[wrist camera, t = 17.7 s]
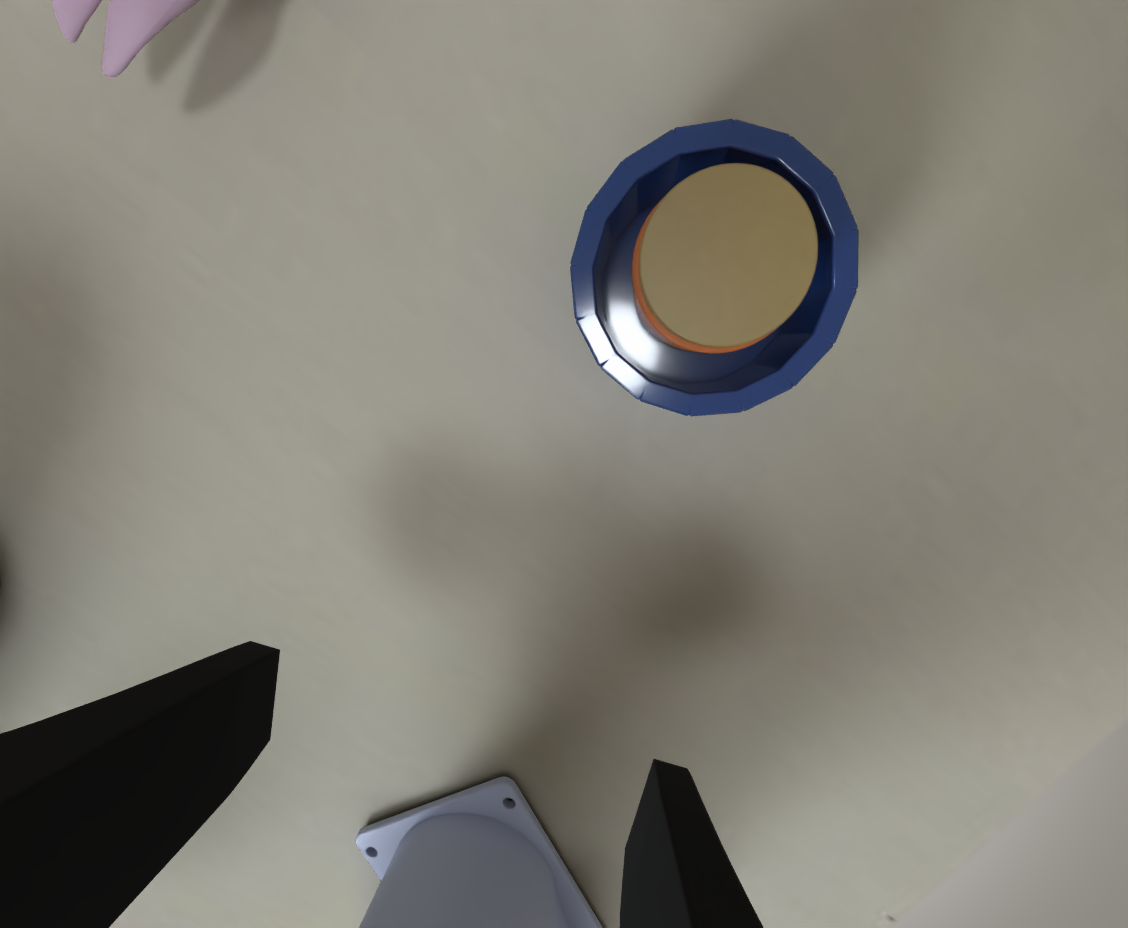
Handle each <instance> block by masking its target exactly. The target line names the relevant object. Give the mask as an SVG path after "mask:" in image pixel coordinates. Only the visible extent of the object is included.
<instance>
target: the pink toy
mask: <svg viewBox="0 0 1128 928" xmlns="http://www.w3.org/2000/svg"><path fill="white" fill-rule="evenodd" d="M198 1H200V0H110V4H109V8H108V14H107V22H106V32H105V43H104V52H103V59H102V71H103V73H104V74H105V75H106V76H108V77H116V76H118V75H119V74H121V73H122V72H123V71H124V70H125V69H126V67H127V66H128V65H129V63H130V62H131V61H132V59H133V58H134V57H135V56H136V54H137V53H138V52H139V51H140V50H141V49H142V48H143V47H144V46H145V45H146V44H147V43H148V42H149V41H150V40H151V39H152V38H153V37H154V36H155V35H156V34H158V33H159V32H160V31H161V30H162V29H163V28H164V27H165V26H166V25H167V24H168V23H170V22H171V21H172V20H174V19H175V18H176V17H178V16H179V15H181V14H182V13H184V12H185V11H187V10H188V9H189V8H191V7H192V6H193V5H195V4H196V3H197V2H198ZM51 2H52V5H53V9H54V12H55V15H56V18H57V21H58V24H59V27H60V29H61V32H62V34H63V35H64V37H65V38H66V39H67V40H68V41H70V42H75V41H77V39H78V38H79V36H80V34H81V32H82V30H83V28H84V26H85V24H86V23H87V21H88V20H89V18H90V17H91V16H92V14H93V13H94V12H95V10H96V9H97V7H98V6H99V4H100V2H101V0H51Z"/></svg>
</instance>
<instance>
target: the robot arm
mask: <svg viewBox="0 0 1128 928" xmlns="http://www.w3.org/2000/svg"><path fill="white" fill-rule="evenodd" d="M279 654H280V650H279V649H276V648H272V647H269V646H266V645H262V644H259V643H255V642H252V641H249V642H246V643H243V644H241V645H238V646H235V647H232V648H230V649H227V650H224V651H222V652H219V653H217V654H214V655H212V656H209V657H207V658H204V659H202V660H199V661H197V662H194V663H192V664H189V665H187V666H184V667H182V668H179V669H177V670H174V671H172V672H169V673H167V674H164V675H162V676H159V677H156V678H154V679H151V680H149V681H146V682H144V683H141V684H139V685H136V686H134V687H131V688H128V689H126V690H123V691H121V692H118V693H116V694H113V695H110V696H108V697H105V698H102V699H99V700H96V701H94V702H91V703H88V704H85V705H83V706H80V707H77V708H74V709H71V710H69V711H66V712H63V713H60V714H58V715H55V716H52V717H49V718H46V719H44V720H41V721H38V722H35V723H32V724H29V725H26V726H23V727H20V728H17V729H14V730H11V731H8V732H5V733H2V734H0V928H109V927H110V926H111V925H112V923H113V922H114V921H115V920H116V919H117V918H118V917H119V916H120V915H121V913H122V912H123V911H124V910H125V909H126V908H127V907H128V906H129V905H130V904H131V903H132V901H133V900H134V899H135V898H136V897H137V896H138V895H139V894H140V893H141V892H142V891H143V889H144V888H145V887H146V886H147V885H148V884H149V883H150V882H151V881H152V880H153V879H154V877H155V876H156V875H157V874H158V873H159V872H160V871H161V870H162V869H163V868H164V867H165V865H166V864H167V863H168V862H169V861H170V860H171V859H172V858H173V857H174V856H175V855H176V853H177V852H178V851H179V850H180V849H181V848H182V847H183V846H184V845H185V844H186V843H187V841H188V840H189V839H190V838H191V837H192V836H193V835H194V834H195V833H196V832H197V830H198V829H199V828H200V827H201V826H202V825H203V824H204V823H205V822H206V820H207V819H208V818H209V817H210V816H211V815H212V814H213V813H214V812H215V811H216V809H217V808H218V807H219V806H220V805H221V804H222V803H223V802H224V800H225V799H226V798H227V797H228V796H229V795H230V794H231V792H232V791H233V790H234V788H235V787H236V786H237V785H238V783H239V782H240V781H241V779H242V778H243V777H244V775H245V774H246V773H247V771H248V770H249V769H250V767H251V766H252V764H253V763H254V762H255V760H256V759H257V757H258V756H259V755H260V753H261V752H262V750H263V749H264V748H265V746H266V745H267V743H268V742H269V741H270V737H271V728H272V719H273V709H274V700H275V691H276V682H277V673H278V663H279ZM507 798H511V799H513V800H514V801H510V800H508V799H507ZM356 844H357V846H358V848H359V849H360V851H361V852H362V854H363V855H364V857H365V858H366V860H367V861H368V863H369V864H370V866H371V867H372V869H373V870H374V872H375V873H376V875H377V876H378V878H379V879H380V881H381V883H380V885H379V887H378V889H377V891H376V893H375V895H374V897H373V900H372V902H371V904H370V906H369V908H368V910H367V912H366V914H365V916H364V918H363V921H362V923H361V925H360V927H359V928H603V927H602V926H601V924H600V922H599V921H598V919H597V917H596V916H595V914H594V912H593V911H592V909H591V908H590V906H589V904H588V903H587V901H586V899H585V898H584V896H583V894H582V893H581V891H580V889H579V888H578V886H577V884H576V883H575V881H574V879H573V878H572V876H571V874H570V873H569V871H568V869H567V868H566V866H565V864H564V863H563V861H562V859H561V858H560V856H559V854H558V853H557V851H556V849H555V848H554V846H553V844H552V843H551V841H550V839H549V838H548V836H547V834H546V833H545V831H544V830H543V828H542V826H541V825H540V823H539V821H538V820H537V818H536V816H535V815H534V813H533V811H532V810H531V808H530V806H529V805H528V803H527V801H526V800H525V798H524V796H523V795H522V793H521V791H520V790H519V788H518V786H517V785H516V783H515V782H514V781H513V780H512V779H510V778H509V777H498V778H496V779H493V780H490V781H488V782H485V783H482V784H479V785H477V786H474V787H471V788H469V789H466V790H463V791H460V792H458V793H455V794H452V795H449V796H447V797H444V798H441V799H439V800H436V801H433V802H430V803H428V804H425V805H422V806H420V807H417V808H414V809H411V810H409V811H406V812H403V813H400V814H398V815H395V816H392V817H390V818H387V819H384V820H381V821H379V822H376V823H373V824H370V825H368V826H365V827H363V828H361V829H360V831H359V833H358V835H357V836H356ZM620 928H764V927H763V926H762V924H761V922H760V920H759V918H758V916H757V914H756V912H755V910H754V908H753V907H752V905H751V903H750V901H749V899H748V897H747V895H746V893H745V891H744V889H743V887H742V885H741V883H740V881H739V879H738V877H737V875H736V873H735V871H734V869H733V867H732V865H731V863H730V860H729V858H728V856H727V854H726V852H725V850H724V848H723V846H722V844H721V841H720V839H719V837H718V835H717V833H716V830H715V828H714V826H713V824H712V822H711V819H710V817H709V815H708V813H707V810H706V808H705V806H704V804H703V801H702V799H701V797H700V794H699V792H698V790H697V787H696V785H695V783H694V781H693V778H692V776H691V774H690V772H689V771H688V769H687V768H684V767H680V766H677V765H673V764H670V763H666V762H663V761H660V760H656V759H654V760H653V763H652V766H651V769H650V772H649V775H648V778H647V781H646V785H645V788H644V791H643V794H642V797H641V800H640V803H639V807H638V810H637V813H636V816H635V819H634V822H633V825H632V828H631V832H630V835H629V838H628V841H627V844H626V847H625V857H624V869H623V880H622V893H621V907H620Z"/></svg>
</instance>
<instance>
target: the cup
mask: <svg viewBox="0 0 1128 928" xmlns="http://www.w3.org/2000/svg"><path fill="white" fill-rule="evenodd" d="M729 163H743V164H751V165H756V166H760V167H763V168H765V169H768V170H771V171H772V172H774V173H776V174H778V175H780V176H781V177H783V178H784V179H785V180H787V181H788V182H789V183H790V184H791V185H792V186H793V187H794V188H795V189H796V190H797V191H798V192H799V193H800V195H801V196H802V197H803V199H804V200H805V201H806V203H807V205H808V207H809V209H810V211H811V213H812V216H813V219H814V222H815V226H816V231H817V237H818V258H817V264H816V270H815V274H814V277H813V280H812V283H811V285H810V287H809V289H808V291H807V294H806V296H805V297H804V299H803V300H802V302H801V304H800V305H799V306H798V308H797V309H796V310H795V311H794V313H793V314H792V315H791V316H790V317H789V318H788V319H787V320H786V321H785V322H784V323H783V324H782V325H780V326H779V327H778V328H777V329H776V330H775V331H773V332H772V333H771V334H769V335H768V336H767V337H766V338H764V339H762V340H760V341H759V342H757V343H755V344H753V345H751V346H748V347H746V348H743V349H740V350H737V351H733V352H727V353H713V354H710V353H700V352H693V351H686V350H680V349H676V348H673V347H670V346H668V345H666V344H664V343H662V342H660V341H659V340H658V339H656V338H655V337H654V336H653V335H652V334H651V333H650V332H649V331H648V330H647V329H646V328H645V326H644V325H643V323H642V321H641V320H640V318H639V315H638V313H637V310H636V307H635V302H634V295H633V281H632V261H633V252H634V248H635V244H636V240H637V238H638V235H639V232H640V230H641V228H642V226H643V224H644V222H645V220H646V218H647V217H648V216H649V214H650V213H651V211H652V210H653V208H654V207H655V206H656V205H657V204H658V203H659V202H660V200H661V199H662V198H664V197H665V195H666V194H667V193H668V192H669V191H670V190H671V189H672V188H674V187H675V186H676V185H677V184H678V183H679V182H681V181H682V180H684V179H685V178H687V177H688V176H690V175H692V174H694V173H696V172H698V171H700V170H703V169H706V168H708V167H711V166H716V165H720V164H729ZM833 174H834V173H833V172H832V171H831V170H830V169H829V168H828V167H827V166H825V165H824V164H823V163H822V162H821V161H820V160H819V159H817V158H816V157H815V156H814V155H813V154H812V153H811V152H810V151H808V150H807V149H806V148H805V147H804V146H803V145H802V144H801V143H799V142H798V141H797V140H796V139H795V138H794V137H792V136H790V137H789V135H788V134H786V133H782V132H779V131H775V130H772V129H768V128H765V127H761V126H757V125H754V124H750V123H747V122H743V121H740V120H734V121H733V119H728V120H721V121H715V122H709V123H702V124H696V125H690V126H684V127H677V128H675V129H674V130H670V131H669V132H667V133H665V134H664V135H662V136H661V137H659V138H657V139H656V140H654V141H653V142H651V143H649V144H648V145H646V146H644V147H643V148H641V149H640V150H638V151H636V152H635V153H633V154H632V155H630V156H628V157H627V158H625V159H624V160H623V162H620V164H619V165H618V166H617V168H616V169H615V170H614V172H613V173H612V174H611V176H610V177H609V178H608V180H607V181H606V182H605V184H604V185H603V186H602V188H601V189H600V190H599V192H598V193H597V194H596V196H595V197H594V198H593V200H592V201H591V202H590V204H589V205H588V206H587V210H586V211H585V213H584V217H583V220H582V224H581V227H580V231H579V234H578V238H577V241H576V245H575V248H574V252H573V255H572V259H571V262H570V263H571V267H570V271H571V282H572V293H573V304H574V314H575V319H577V320H576V323H577V325H578V327H579V329H580V331H581V333H582V335H583V337H584V339H585V341H586V342H587V344H588V346H589V348H590V350H591V352H592V354H593V356H594V358H595V360H596V362H597V364H598V365H599V366H601V369H602V370H603V371H604V372H605V373H607V374H608V375H609V376H610V377H611V378H612V379H614V380H615V381H616V382H617V383H618V384H620V385H621V386H622V387H623V388H624V389H626V390H627V391H628V392H629V393H630V394H631V395H633V396H634V397H635V398H636V399H638V400H639V399H640V401H641V402H644V403H647V404H651V405H654V406H657V407H660V408H663V409H666V410H670V411H673V412H676V413H679V414H682V415H685V416H688V415H690V416H702V415H715V414H727V413H739V412H742V411H746V410H748V409H751V408H753V407H755V406H757V405H759V404H761V403H763V402H765V401H767V400H769V399H771V398H773V397H775V396H777V395H779V394H782V393H784V392H786V391H788V390H790V389H791V388H792V387H793V386H795V385H797V384H798V383H799V382H800V380H801V379H802V378H803V377H804V376H805V375H806V374H807V373H808V372H809V371H810V370H811V369H812V368H813V367H814V366H815V365H816V364H817V363H818V361H819V360H820V359H821V358H822V357H823V356H824V355H825V354H826V353H827V352H828V351H829V350H830V349H831V348H832V346H833V344H834V343H835V342H836V340H837V337H838V335H839V332H840V330H841V328H842V325H843V323H844V320H845V318H846V316H847V313H848V311H849V308H850V306H851V304H852V301H853V299H854V296H855V294H856V289H857V287H858V229H857V225H856V222H855V220H854V218H853V215H852V213H851V211H850V208H849V206H848V203H847V201H846V199H845V196H844V194H843V192H842V189H841V187H840V185H839V182H838V180H837V178H836V176H835V175H833Z"/></svg>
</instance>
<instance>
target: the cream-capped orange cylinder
mask: <svg viewBox="0 0 1128 928" xmlns="http://www.w3.org/2000/svg"><path fill="white" fill-rule="evenodd" d="M817 258H818V237H817V231H816V226H815V222H814V219H813V216H812V213H811V211H810V209H809V207H808V205H807V203H806V201H805V200H804V199H803V197H802V196H801V195H800V193H799V192H798V191H797V190H796V189H795V188H794V187H793V186H792V185H791V184H790V183H789V182H788V181H787V180H785V179H784V178H783V177H781V176H780V175H778V174H776V173H774V172H772V171H771V170H768V169H765V168H763V167H760V166H756V165H751V164H743V163H729V164H720V165H716V166H711V167H708V168H706V169H703V170H700V171H698V172H696V173H694V174H692V175H690V176H688V177H687V178H685V179H684V180H682V181H681V182H679V183H678V184H677V185H676V186H675V187H674V188H672V189H671V190H670V191H669V192H668V193H667V194H666V195H665V197H664V198H662V199H661V200H660V202H659V203H658V204H657V205H656V206H655V207H654V208H653V210H652V211H651V213H650V214H649V216H648V217H647V218H646V220H645V222H644V224H643V226H642V228H641V230H640V232H639V235H638V238H637V240H636V244H635V248H634V252H633V261H632V281H633V295H634V302H635V307H636V310H637V313H638V315H639V318H640V320H641V321H642V323H643V325H644V326H645V328H646V329H647V330H648V331H649V332H650V333H651V334H652V335H653V336H654V337H655V338H656V339H658V340H659V341H660V342H662V343H664V344H666V345H668V346H670V347H673V348H676V349H680V350H686V351H693V352H700V353H710V354H713V353H727V352H733V351H737V350H740V349H743V348H746V347H748V346H751V345H753V344H755V343H757V342H759V341H760V340H762V339H764V338H766V337H767V336H768V335H769V334H771V333H772V332H773V331H775V330H776V329H777V328H778V327H779V326H780V325H782V324H783V323H784V322H785V321H786V320H787V319H788V318H789V317H790V316H791V315H792V314H793V313H794V311H795V310H796V309H797V308H798V306H799V305H800V304H801V302H802V300H803V299H804V297H805V296H806V294H807V291H808V289H809V287H810V285H811V283H812V280H813V277H814V274H815V270H816V264H817Z"/></svg>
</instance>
